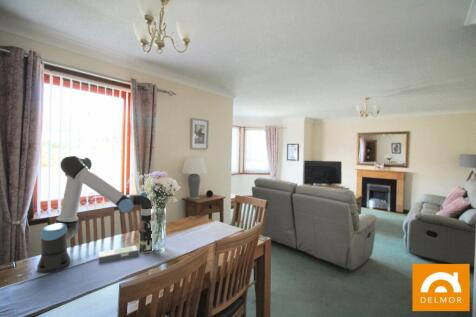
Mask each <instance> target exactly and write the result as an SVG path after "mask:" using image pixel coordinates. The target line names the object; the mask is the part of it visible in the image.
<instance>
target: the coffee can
mask: <svg viewBox="0 0 476 317" xmlns="http://www.w3.org/2000/svg"><path fill="white" fill-rule="evenodd" d="M146 233H147V232H146V230H145V229H144V228H143V227H142V228H139V229H138V250H139V253H140V254H149V253H152V252H153V251H152V238H151V244H150V250H146V241H145V240H146ZM151 234H152V231H151ZM151 251H152V252H151ZM148 252H149V253H148Z"/></svg>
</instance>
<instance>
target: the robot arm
mask: <svg viewBox="0 0 476 317" xmlns="http://www.w3.org/2000/svg"><path fill="white" fill-rule="evenodd" d="M60 161H61V162H60V169H61V170H62V172H63V173H64V176H65V177H66V184H65V188H64V193H63V198H62V203H61V210H60V214H59V216H57V217H56V219H55V223H52V224H48V225H46V226H44V227H43V228H42V229H41V234H40V243H41V244H40V248H41V250H40V252H41V254H40V259H39V261H38V264H37V267H36V270H37V272H38V273H41V274H47V273H49V274H50V273H55V272H58V271H61V270H64V269H66V268H67V267H69V266H70V265H71V262H72V260H71V257H70V254H69V253H68V241H69V240H71V239H72V238H73V237H75V236H76V234H78V232H79V230H80V223H79V220H80V219H79V217H78V216H77V215H78V209H79V205H80V200H81V195H82V188H83V185H85V186H87V187H89V188H90V189H91V190H92V191H94V192H96V193H97V194H98V195H100V196H102V197H103V198H104V199H106V200H108V201H109V202H111V203H112V204H113V205H115V206H117V207H118V210H119V211H120V212H122V213H128V212H130V211H131V210H133V208H134V207H140V221H141V222H143V224H142V228H144V229H145V230H146V232H147V233H146V240H145V241H146V250H150V244H151V226H152V224H151V221H152V220H151V209H152V207H151V202H150V200H149V199H148V198H147V194H146V192H145V191H146V190H144V191H141V192H140V194H124V193H122V192H121V191H120V190H118V188H115V187H114V186H112V185H111V184H109V183H108V182H107V181H105V180H104V179H102V178H101V177H100V176H98V175H96V173H94V172H92V171H91V169H92V160H91V159H90V158H89V157H88V155H87V156H86V155H84V154H69V155H67V156H64V157H63V159H61V160H60Z"/></svg>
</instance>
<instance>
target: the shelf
mask: <svg viewBox="0 0 476 317" xmlns="http://www.w3.org/2000/svg"><path fill="white" fill-rule="evenodd" d="M139 253H140V252H139V249H138V247H137V246H136V245H132V246H127V247H121V248H120V247H119V248H114V249H108V250H103V251H98V264H100V263H105V262H106V263H107V262H111V261H115V260H116V261H117V260H121V259H126V258H132V257H136V256H137V257H139V255H140V254H139Z"/></svg>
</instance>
